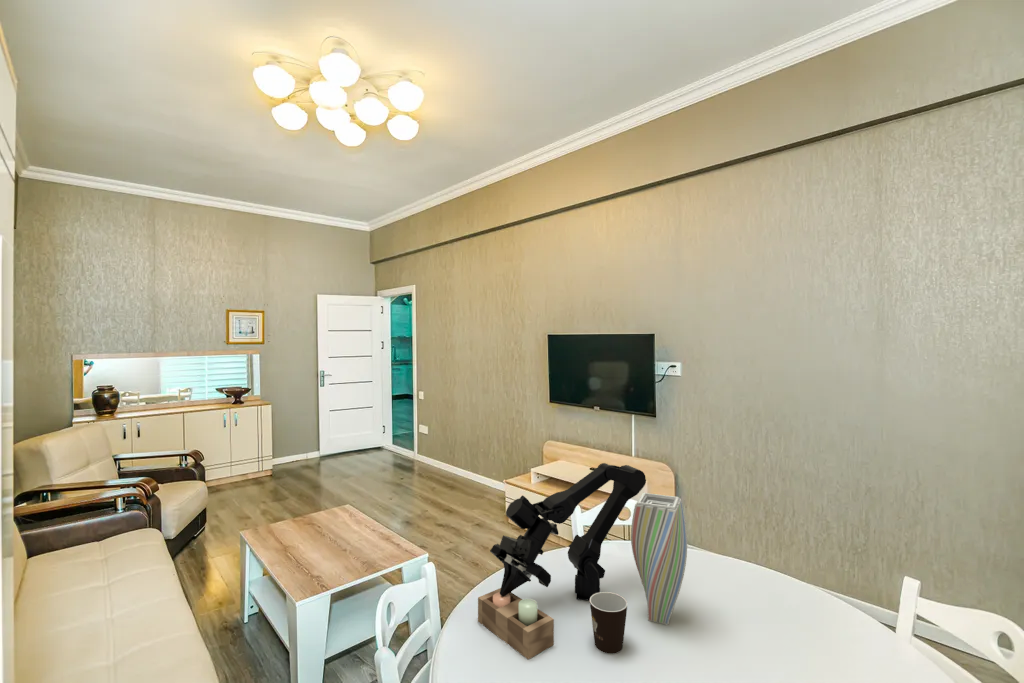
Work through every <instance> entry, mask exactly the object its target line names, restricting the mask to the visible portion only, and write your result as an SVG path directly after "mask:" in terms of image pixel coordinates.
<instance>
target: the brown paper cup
mask: <svg viewBox="0 0 1024 683" xmlns="http://www.w3.org/2000/svg"><path fill="white" fill-rule="evenodd" d="M589 606H590V607H589V608H590V616H591V624H592V632H593V640H594V646H595V648H596V649H597V650H598V651H600V652H602V653H604V654H610V655H611V654H612V655H614V654H618V653H620V652H621V651H622V650H623V648H624V647H623V646H624V638H625V629H626V622H627V610H628V601H627V599H626V598H625V597H623V596H622V595H620V594H618V593H616V592H610V591H602V592H601V591H600V592H599V593H594V594H593V595H592V596H591V597H590V601H589Z"/></svg>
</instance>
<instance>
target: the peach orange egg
mask: <svg viewBox="0 0 1024 683" xmlns="http://www.w3.org/2000/svg"><path fill="white" fill-rule="evenodd" d="M509 603H510V595H509V594H507V595H506V596H504V597H503V596H501V595H500V592H498V593H495V594H494V595H493V604H495V605H496V606H498V607H499V608H500V607H503V606H505V605H507V604H509Z"/></svg>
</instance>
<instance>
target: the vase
mask: <svg viewBox="0 0 1024 683" xmlns="http://www.w3.org/2000/svg"><path fill="white" fill-rule="evenodd" d="M686 524H687V523H686V519H685V512H684V506H683V502H682V498H680V497H679V496H674V495H673V496H672V495H667V494H666V495H664V494H656V493H649V492H643V493H642V494H641V496H639V499H638V500H637V501H636V503H635V504H634V509H633V514H632V519H631V529H630V531H631V532H630V544H631V550H632V551H631V552H632V555H633V559H634V562H635V566H636V569H637V572H638V576H639V578H640V580H641V584H642V587H643V589H644V593H645V597H646V598H645V599H646V603H647V605H646V606H647V621H648V622H649V621H650V622H653V623H657V624H663V625H666V626H669V623H670V619H671V617H672V613H673V612H674V608H675V605H676V603H677V601H678V597H679V594H680V591H681V588H682V585H683V580H684V576H685V571H686V566H687V557H688V533H687V525H686Z"/></svg>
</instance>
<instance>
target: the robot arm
mask: <svg viewBox="0 0 1024 683" xmlns="http://www.w3.org/2000/svg"><path fill="white" fill-rule="evenodd" d="M610 481H613V483H612V485H613V486H612V491H611V493H610V494H609V496H608V497H607V498H606V501H605V502H604V504H603V505H602V507H601V509H600V510H599V512H598V513H597V515H596V517H595V519H594V520H593V522H592V523H591V525H590V527H589V528H588V530H587V532H586V533H585V534H583V535H581V536H580V535H578V534H575V536H574V538H573V540H572V542H571V543H570V544H569V545H568V551H567V557H568V560H569V562H570V563H571V564H572V565H573V567H574V568H575V569H576V574H575V576H574V594H576V596H575V598H576V600H580V601H581V600H582V601H589V602H590V597H591V596H592V595H593V594H594V593H599V592H601V579H603V578H604V577H605V574H606V569H605V568H604V567H603V566H602V565H601V564H600V563H598V562H599V560H600V557H601V551H602V545H603V543H604V541H605V539H606V537H607V535H608V534H609V532H610V531H611V529H612V527H613V526H614V524H615V522H616V521H617V519H618V517H619V516H620V514H621V512H622V511H623V509H624V508H625V506H626V504H627V503H628V501H629V500H631V499H632V498H634V497H636V496H638V494H640V492H641V491H642V490H643V488H644V487H645V486H646V483H647V478H646V475H645V472H644V471H642V470H640V469H639V468H636V467H633V466H631V465H628V464H625V465H621V466H618V465H614V464H608V463H605V462H603V463H599V465H598V466H597V467H596V468H595V469H593V470H592V471H591V472H590V473H589V472H588V474H587V475H585V476H584V477H582V478H581V479H579V480H578V481H577V482H576V483H575V484H573V485H571V486H570V487H568V488H567V489H565V490H562V491H557V492H554V493H553V494H551V495H549V496H547V497H545V498H544V499H543V500H541V501H539V502H536V503H535V502H534V503H531V501H530V500H529V499H528V498H526V496H524V495H521V496H520V497H519V498H516V499H515V500H514V501H511V502H510V504H509V505H508V506H507V509H506V510H505V516H506V517H507V518H508V519H509V520H511V521H512V522H513V523H514V524H515V525H516V526H517V527H519V529H521V530H526V531H525V532H524V534H523V535H522V534H520V535H518V536H517V537H516V538H514V537H510V536H507V535H502V538H501V541H500V544H498V543H496V544H495V543H494V544H493V545H492V547H491V549H490V550H489V552H490V553H491V554H492V555H493V556H495V557H496V558H497V559H498V560H499V561H500V562H501V563H502V564H503V569H504V570H503V571H504V572H503V578H502V582H501V587H500V588H501V590H500V595H501V596H503V597H504V596H506V595H507V594H509V593H510V592H511V593H512V592H513V591H514V590H515V589H517V588H519V587H520V586H522V585H524V584H525V583H527V582H529V583H530V582H532V579H531V577H532V576H534V577H535V578H537V580H538V583H539V584H540V585H542V586H544V587H546V588H548V587H549V585H550V583H551V582H552V576H551V574H550V573H549V572H548V571H547V570H546V569H545V568H544V567H543V566H542V565H540V564H538V563H536V562H535V561H536V559H537V558H538V556H539V555H541V556H542V555H543V554H544V550H543V547H544V546H545V543H546V542H547V540H548V538H549V536H550V534H552V535H555V536H558V535H559V530H558V525H560V524H561V525H562V524H563V523H565V522H566V521H567V520H568V519H569V518H570V517H571V516H572V515H573V514H574V512H575V510H576V508H577V506H578V505H579V504H580V503H582V502H583V501H584V500H586V499H587V498H588V497H590V496H591V495H592V494H594V493H595V492H597V491H598V490H599V489H600V488H602V487H603V486H605V484H607V483H609V482H610ZM550 521H551V522H550Z"/></svg>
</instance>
